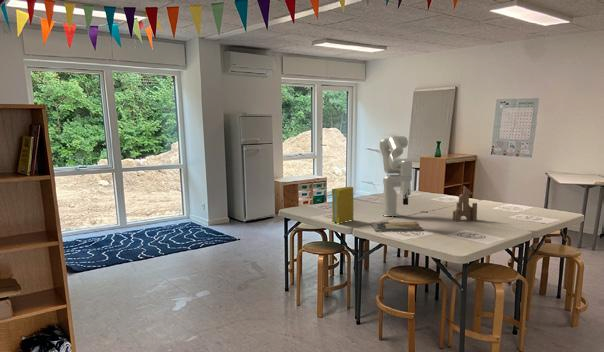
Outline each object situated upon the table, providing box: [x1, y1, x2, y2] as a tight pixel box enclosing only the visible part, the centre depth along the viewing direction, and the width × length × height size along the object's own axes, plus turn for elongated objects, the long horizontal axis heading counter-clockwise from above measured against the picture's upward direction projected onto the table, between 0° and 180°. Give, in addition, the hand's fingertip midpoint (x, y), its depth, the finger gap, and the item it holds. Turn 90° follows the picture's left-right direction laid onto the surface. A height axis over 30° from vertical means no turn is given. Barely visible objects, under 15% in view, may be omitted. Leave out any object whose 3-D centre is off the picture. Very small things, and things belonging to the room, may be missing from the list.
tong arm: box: [377, 221, 419, 225], centre depth 274 cm, size 6×27×4 cm, turn 89°
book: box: [331, 186, 354, 224], centre depth 298 cm, size 17×7×25 cm, turn 126°
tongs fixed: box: [377, 222, 420, 230], centre depth 273 cm, size 5×27×4 cm, turn 90°
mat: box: [370, 222, 425, 232], centre depth 280 cm, size 22×32×1 cm
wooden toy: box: [452, 185, 478, 222], centre depth 295 cm, size 16×7×25 cm, turn 90°
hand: (405, 204), depth 280 cm, fingers closed
